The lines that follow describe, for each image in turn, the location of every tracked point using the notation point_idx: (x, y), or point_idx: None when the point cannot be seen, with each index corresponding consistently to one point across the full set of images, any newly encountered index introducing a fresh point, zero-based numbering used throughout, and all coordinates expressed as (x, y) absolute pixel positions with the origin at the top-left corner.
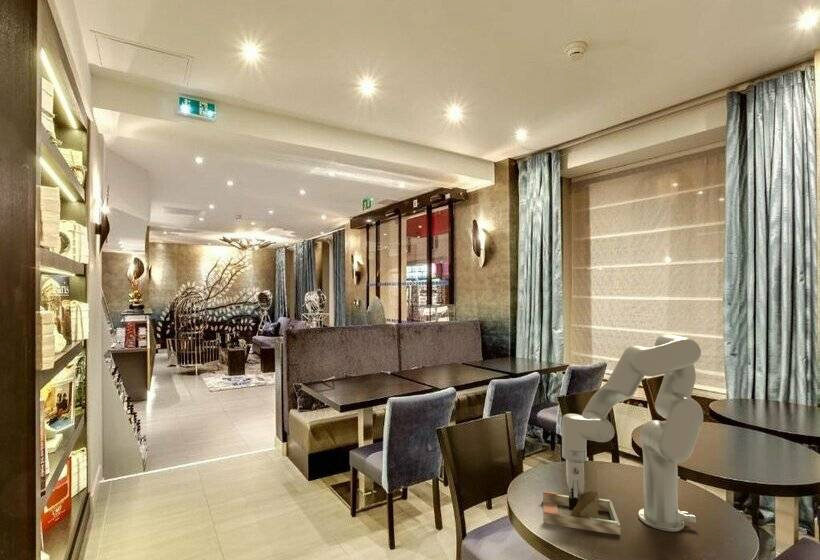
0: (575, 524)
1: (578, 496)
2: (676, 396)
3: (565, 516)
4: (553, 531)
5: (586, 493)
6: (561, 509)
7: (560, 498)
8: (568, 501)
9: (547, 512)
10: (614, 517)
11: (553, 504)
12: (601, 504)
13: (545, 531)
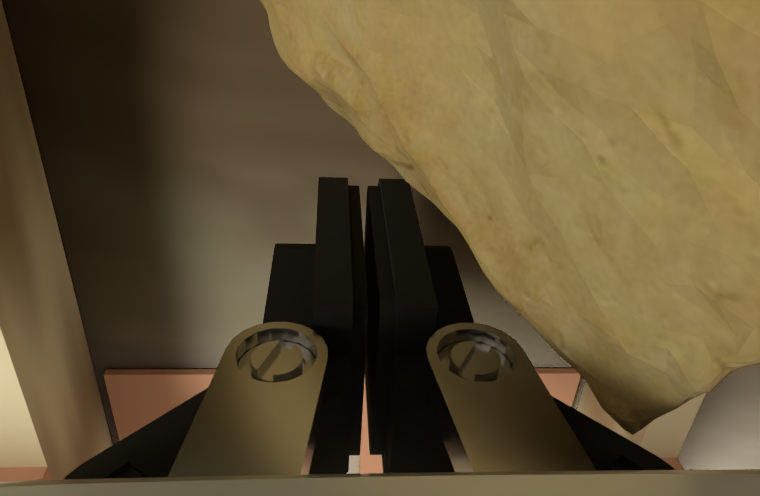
0: None
1: (547, 413)
2: None
3: (693, 401)
4: (735, 415)
5: (756, 344)
6: (213, 330)
7: (50, 401)
8: (36, 286)
9: None
10: None
11: (132, 409)
12: None
13: (731, 468)
